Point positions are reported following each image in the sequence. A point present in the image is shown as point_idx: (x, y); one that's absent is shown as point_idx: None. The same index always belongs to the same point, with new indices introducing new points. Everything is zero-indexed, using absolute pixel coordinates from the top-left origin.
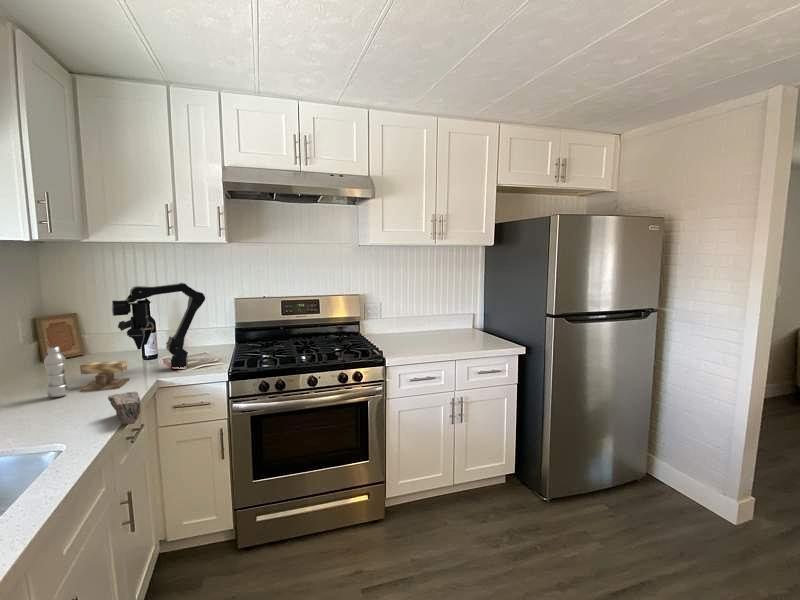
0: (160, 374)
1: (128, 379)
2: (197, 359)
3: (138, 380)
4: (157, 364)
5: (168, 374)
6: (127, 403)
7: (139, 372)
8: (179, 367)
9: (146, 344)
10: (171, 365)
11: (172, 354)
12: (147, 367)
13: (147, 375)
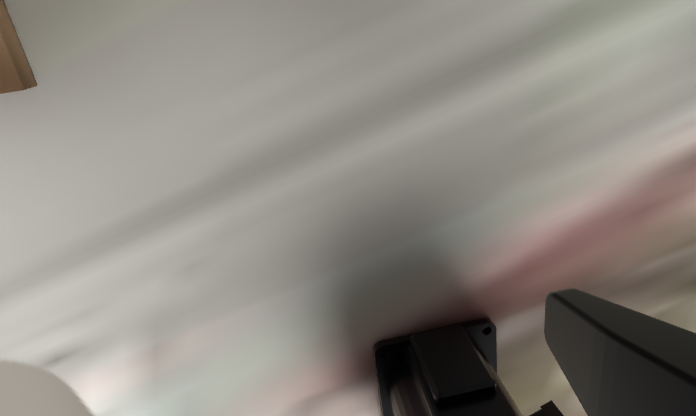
0: (252, 306)
1: (11, 90)
2: None
3: (34, 198)
4: (644, 113)
5: (247, 368)
6: None
7: (355, 57)
8: (391, 404)
9: (549, 344)
10: (416, 355)
11: (542, 410)
12: (553, 55)
13: (224, 203)
